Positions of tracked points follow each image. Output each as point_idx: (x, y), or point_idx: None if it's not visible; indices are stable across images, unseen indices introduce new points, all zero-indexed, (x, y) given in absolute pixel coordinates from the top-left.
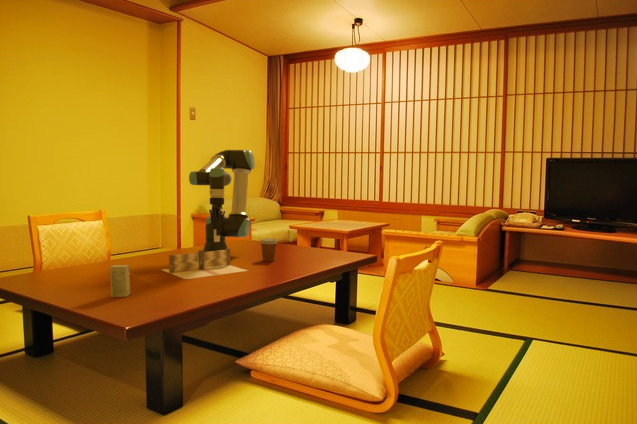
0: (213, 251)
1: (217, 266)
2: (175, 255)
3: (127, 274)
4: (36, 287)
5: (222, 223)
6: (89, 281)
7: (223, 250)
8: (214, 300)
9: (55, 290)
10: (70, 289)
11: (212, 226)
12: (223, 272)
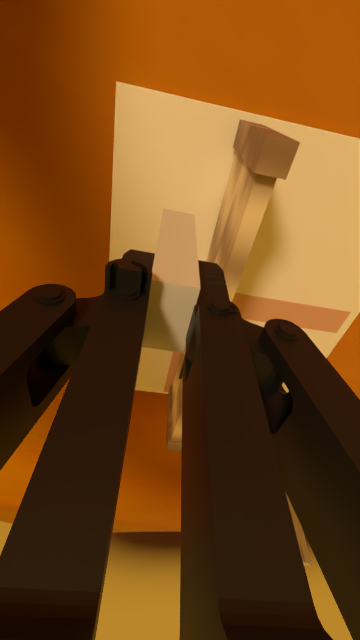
0: (234, 290)
1: (215, 207)
2: (181, 437)
3: (302, 541)
4: (115, 521)
5: (355, 411)
6: (124, 488)
7: (263, 211)
8: None
9: (157, 517)
10: (167, 510)
11: (71, 366)
12: (346, 285)
